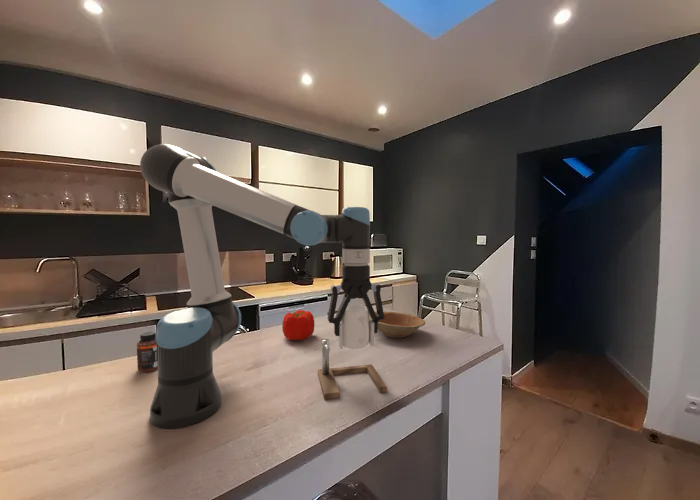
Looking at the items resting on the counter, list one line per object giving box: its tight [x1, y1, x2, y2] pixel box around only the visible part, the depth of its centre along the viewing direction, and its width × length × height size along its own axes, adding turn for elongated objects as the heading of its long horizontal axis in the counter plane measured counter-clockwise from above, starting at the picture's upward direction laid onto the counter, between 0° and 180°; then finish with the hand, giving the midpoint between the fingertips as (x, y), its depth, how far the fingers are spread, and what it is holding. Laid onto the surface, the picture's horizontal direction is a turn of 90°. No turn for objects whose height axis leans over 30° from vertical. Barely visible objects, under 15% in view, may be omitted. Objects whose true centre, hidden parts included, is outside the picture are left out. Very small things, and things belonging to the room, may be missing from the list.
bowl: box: [369, 311, 426, 339], centre depth 127 cm, size 24×24×8 cm
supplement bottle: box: [136, 331, 158, 373], centre depth 95 cm, size 6×6×11 cm
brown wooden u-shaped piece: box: [317, 363, 388, 400], centre depth 87 cm, size 17×14×2 cm
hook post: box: [321, 338, 331, 375], centre depth 87 cm, size 2×6×10 cm, turn 13°
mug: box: [341, 304, 370, 350], centre depth 84 cm, size 12×8×10 cm
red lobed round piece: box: [281, 309, 315, 342], centre depth 123 cm, size 14×13×10 cm
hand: (356, 345), depth 85 cm, fingers closed on mug, 8 cm apart
